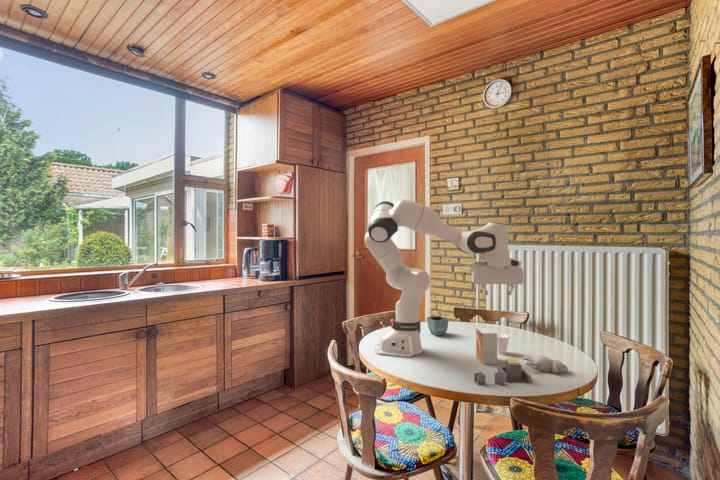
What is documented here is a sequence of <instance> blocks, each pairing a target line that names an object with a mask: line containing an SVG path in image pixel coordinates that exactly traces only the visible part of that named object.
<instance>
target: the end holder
mask: <svg viewBox="0 0 720 480" xmlns="http://www.w3.org/2000/svg"><path fill="white" fill-rule="evenodd" d="M496 372H497V373H503V374H504V383H515V384H516V383H522V384H524V383H525V384H529V383H530V384H531V383H532V381H531V380H532V378H531V377H532V376H531V375H530V373H528V372H527V371H526V370H525V369H524V368H523V367H522V366H521V379H510V378H509V377H508V375H507V374H506V372H505V366H503V365H502V366H501V365H497V366H496Z"/></svg>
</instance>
